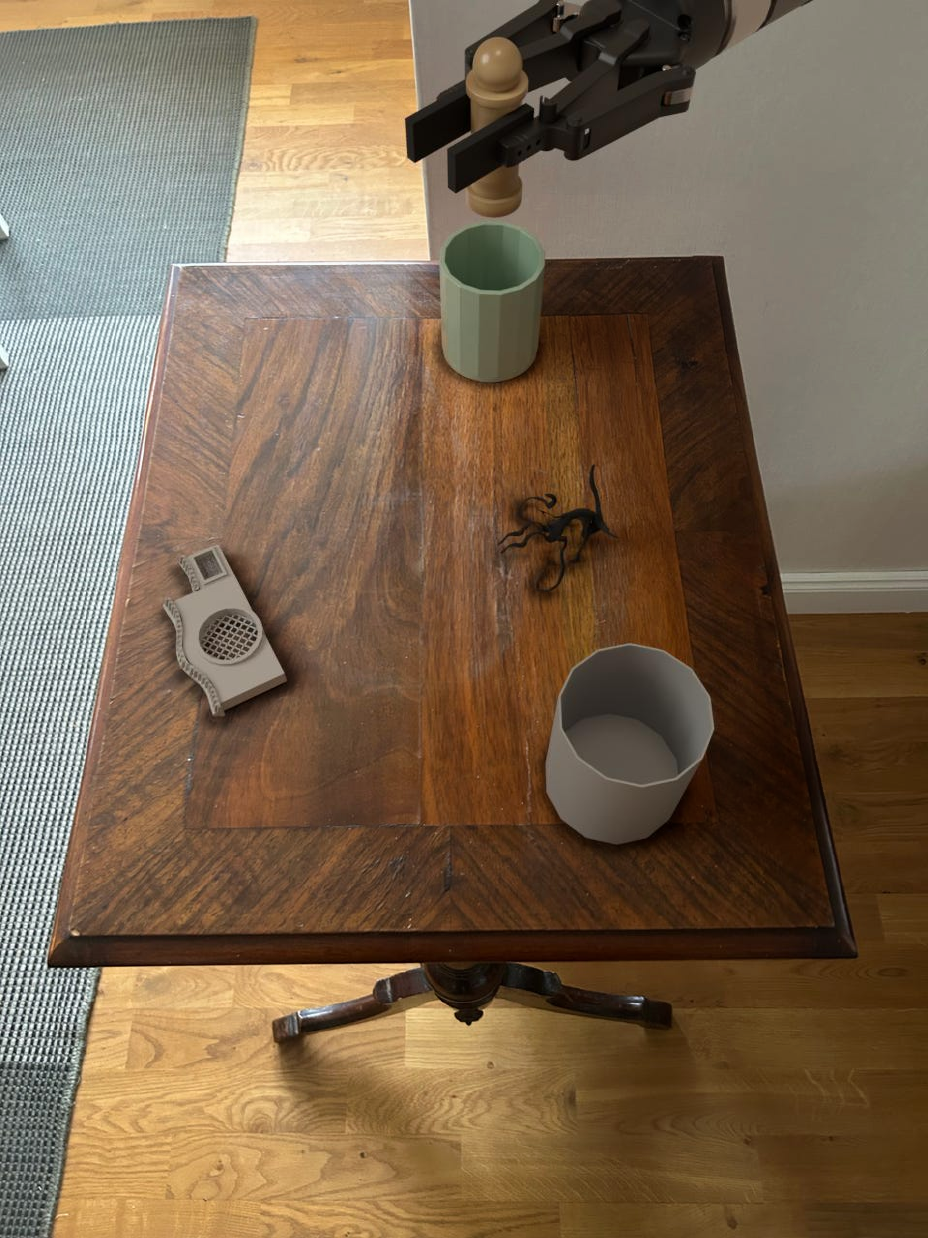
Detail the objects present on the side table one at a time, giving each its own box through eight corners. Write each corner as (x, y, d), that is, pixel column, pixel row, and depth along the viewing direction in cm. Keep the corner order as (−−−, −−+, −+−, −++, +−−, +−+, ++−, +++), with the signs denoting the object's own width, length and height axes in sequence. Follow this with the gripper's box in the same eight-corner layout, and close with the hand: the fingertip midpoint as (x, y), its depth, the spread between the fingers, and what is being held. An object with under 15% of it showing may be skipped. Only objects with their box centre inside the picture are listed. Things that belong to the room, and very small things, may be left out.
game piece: (533, 198, 69) (543, 40, 59) (494, 225, 68) (499, 68, 58) (493, 172, 70) (497, 14, 61) (454, 199, 69) (452, 41, 59)
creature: (515, 608, 70) (626, 578, 69) (500, 571, 66) (620, 537, 65) (493, 517, 74) (599, 487, 73) (478, 475, 69) (590, 443, 69)
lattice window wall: (223, 551, 71) (143, 585, 70) (217, 536, 70) (135, 571, 68) (291, 685, 66) (207, 725, 65) (287, 673, 65) (200, 714, 63)
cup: (687, 732, 64) (722, 661, 56) (671, 857, 61) (705, 801, 52) (557, 705, 65) (571, 631, 57) (532, 825, 62) (543, 766, 53)
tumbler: (538, 314, 83) (545, 222, 75) (536, 384, 79) (544, 295, 71) (445, 310, 83) (443, 219, 75) (439, 380, 79) (436, 292, 71)
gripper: (765, 112, 70) (519, 273, 62) (596, 11, 76) (352, 147, 68) (796, 1, 63) (525, 166, 56) (608, -100, 69) (340, 37, 61)
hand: (431, 155), depth 62 cm, fingers closed on game piece, 3 cm apart
